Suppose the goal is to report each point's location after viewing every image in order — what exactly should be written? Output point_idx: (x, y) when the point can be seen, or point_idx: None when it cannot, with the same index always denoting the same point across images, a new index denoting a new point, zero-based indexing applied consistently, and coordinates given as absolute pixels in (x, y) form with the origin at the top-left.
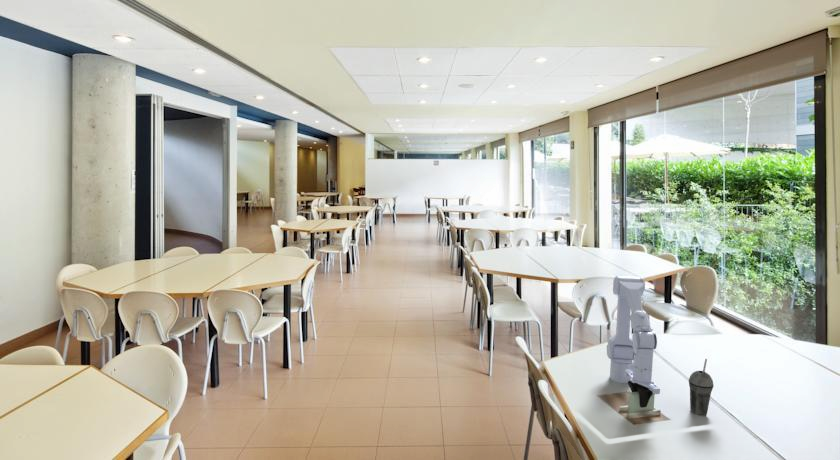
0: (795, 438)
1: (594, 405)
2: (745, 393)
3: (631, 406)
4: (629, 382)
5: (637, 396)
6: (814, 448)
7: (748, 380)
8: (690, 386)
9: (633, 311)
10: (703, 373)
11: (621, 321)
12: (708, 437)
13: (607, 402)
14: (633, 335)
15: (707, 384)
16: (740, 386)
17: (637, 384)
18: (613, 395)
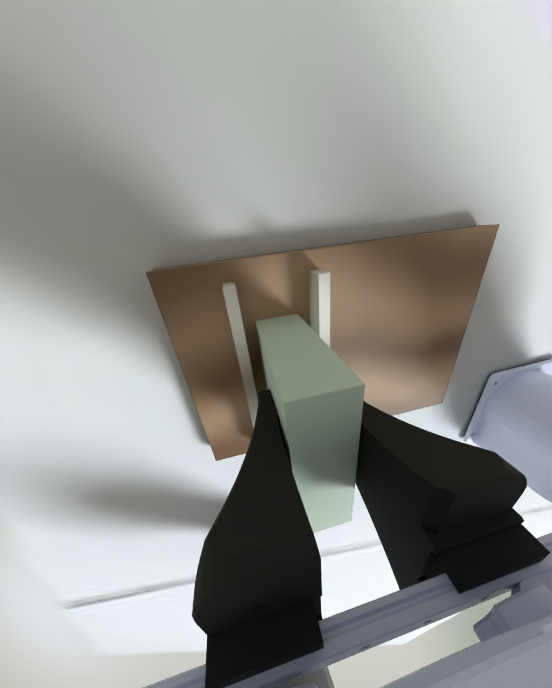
0: (151, 627)
1: (432, 157)
2: (335, 590)
3: (281, 337)
4: (496, 487)
5: (286, 428)
6: (111, 641)
7: (372, 595)
8: (293, 680)
9: None
10: None
11: None
12: (118, 515)
13: (416, 247)
14: None
15: None
16: (359, 587)
17: (413, 535)
18: (452, 321)
